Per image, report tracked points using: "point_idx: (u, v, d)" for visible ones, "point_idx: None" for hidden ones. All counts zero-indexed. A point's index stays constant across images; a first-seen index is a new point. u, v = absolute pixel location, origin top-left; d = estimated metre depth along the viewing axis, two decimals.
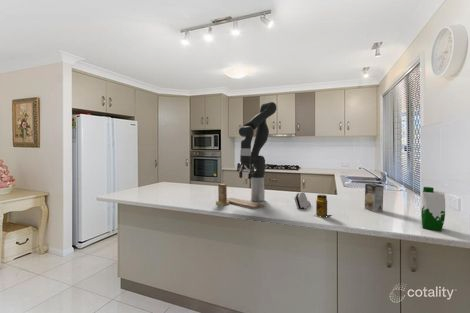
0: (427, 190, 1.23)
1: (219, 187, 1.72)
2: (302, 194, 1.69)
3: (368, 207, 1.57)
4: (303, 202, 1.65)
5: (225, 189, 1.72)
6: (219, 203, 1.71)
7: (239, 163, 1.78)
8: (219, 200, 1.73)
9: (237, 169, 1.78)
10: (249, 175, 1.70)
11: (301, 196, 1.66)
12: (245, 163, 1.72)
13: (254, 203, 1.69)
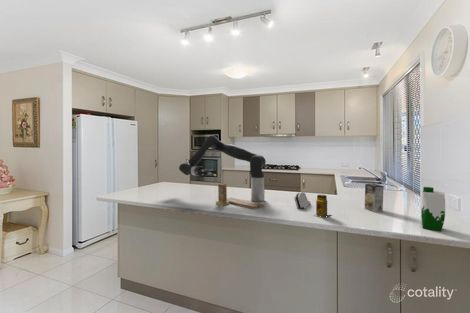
0: (427, 190, 1.23)
1: (219, 187, 1.72)
2: (302, 194, 1.69)
3: (368, 207, 1.57)
4: (303, 202, 1.65)
5: (225, 189, 1.72)
6: (219, 203, 1.71)
7: (208, 171, 1.91)
8: (219, 200, 1.73)
9: None
10: (204, 174, 1.78)
11: (301, 196, 1.66)
12: None
13: (254, 203, 1.69)
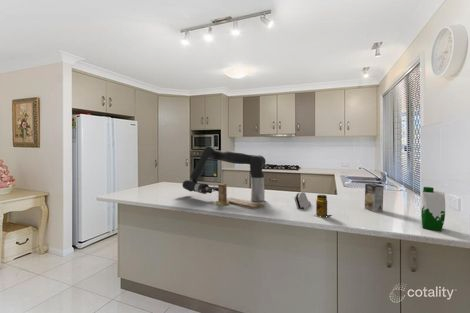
0: (427, 190, 1.23)
1: (219, 187, 1.72)
2: (302, 194, 1.69)
3: (368, 207, 1.57)
4: (303, 202, 1.65)
5: (225, 189, 1.72)
6: (219, 203, 1.71)
7: (212, 188, 1.89)
8: (219, 200, 1.73)
9: None
10: None
11: (301, 196, 1.66)
12: None
13: (254, 203, 1.69)
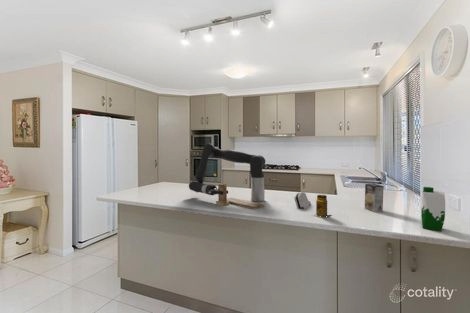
0: (427, 190, 1.23)
1: (219, 187, 1.72)
2: (302, 194, 1.69)
3: (368, 207, 1.57)
4: (303, 202, 1.66)
5: (225, 189, 1.72)
6: (219, 202, 1.71)
7: None
8: (219, 200, 1.73)
9: None
10: (220, 193, 1.71)
11: (301, 196, 1.66)
12: None
13: (254, 203, 1.69)
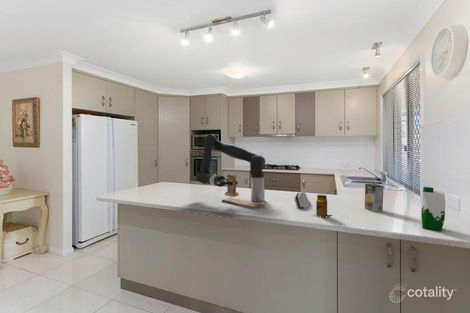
0: (427, 190, 1.23)
1: (228, 177, 1.65)
2: (302, 194, 1.70)
3: (368, 207, 1.57)
4: (303, 202, 1.66)
5: (234, 180, 1.66)
6: (228, 194, 1.64)
7: None
8: (228, 191, 1.66)
9: None
10: (229, 184, 1.64)
11: (301, 196, 1.66)
12: None
13: (254, 203, 1.69)
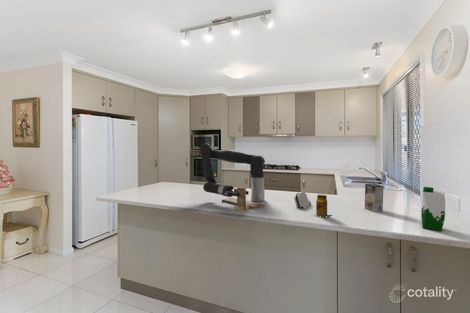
0: (427, 190, 1.23)
1: (238, 190, 1.59)
2: (302, 194, 1.70)
3: (368, 207, 1.57)
4: (303, 202, 1.66)
5: (244, 193, 1.60)
6: (238, 207, 1.58)
7: None
8: (238, 204, 1.60)
9: None
10: (236, 195, 1.57)
11: (301, 196, 1.67)
12: None
13: (254, 203, 1.69)
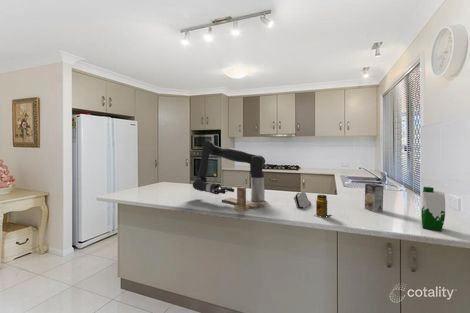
0: (427, 190, 1.23)
1: (238, 190, 1.59)
2: (302, 194, 1.70)
3: (368, 207, 1.57)
4: (303, 202, 1.66)
5: (244, 193, 1.60)
6: (238, 207, 1.58)
7: (225, 189, 1.79)
8: (238, 204, 1.60)
9: None
10: (221, 192, 1.66)
11: (301, 196, 1.67)
12: None
13: (254, 203, 1.69)
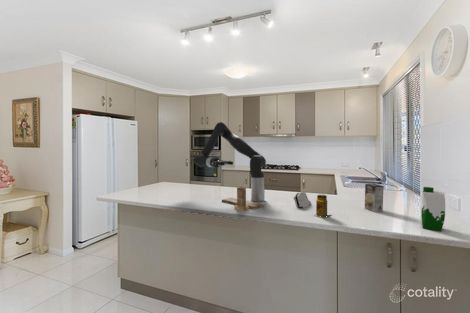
0: (427, 190, 1.23)
1: (238, 190, 1.59)
2: (302, 194, 1.70)
3: (368, 207, 1.57)
4: (303, 201, 1.67)
5: (244, 193, 1.60)
6: (238, 207, 1.58)
7: (224, 162, 1.87)
8: (238, 204, 1.60)
9: None
10: (221, 164, 1.75)
11: (301, 195, 1.67)
12: None
13: (254, 203, 1.69)
